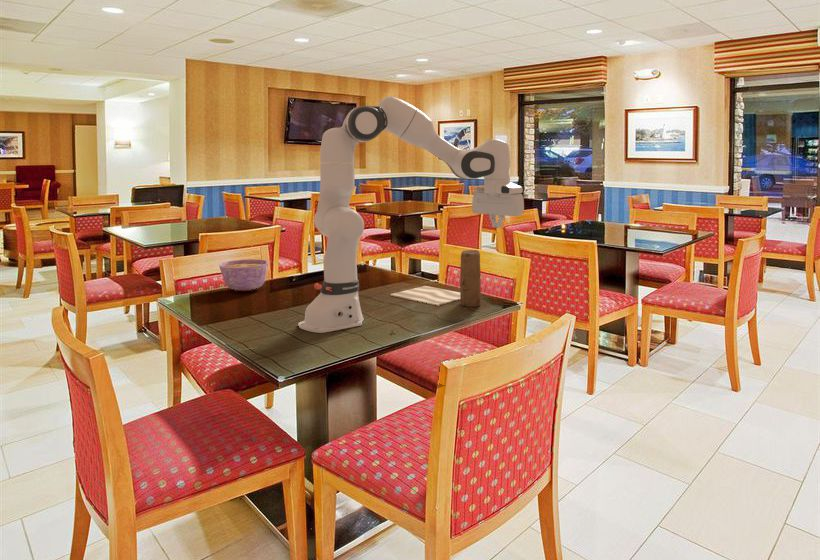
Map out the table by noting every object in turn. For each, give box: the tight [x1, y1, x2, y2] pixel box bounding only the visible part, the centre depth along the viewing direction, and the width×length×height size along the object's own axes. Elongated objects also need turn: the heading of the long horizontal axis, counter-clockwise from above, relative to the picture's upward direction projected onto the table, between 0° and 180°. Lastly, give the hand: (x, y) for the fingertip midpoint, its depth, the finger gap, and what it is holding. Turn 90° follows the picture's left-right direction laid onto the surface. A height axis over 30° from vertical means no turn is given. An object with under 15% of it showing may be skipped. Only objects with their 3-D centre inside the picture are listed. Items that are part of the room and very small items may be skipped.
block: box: [459, 249, 482, 308], centre depth 227 cm, size 11×8×20 cm
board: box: [390, 285, 461, 307], centre depth 243 cm, size 20×26×1 cm
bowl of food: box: [219, 258, 269, 291], centre depth 259 cm, size 20×20×12 cm
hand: (496, 227), depth 215 cm, fingers closed
